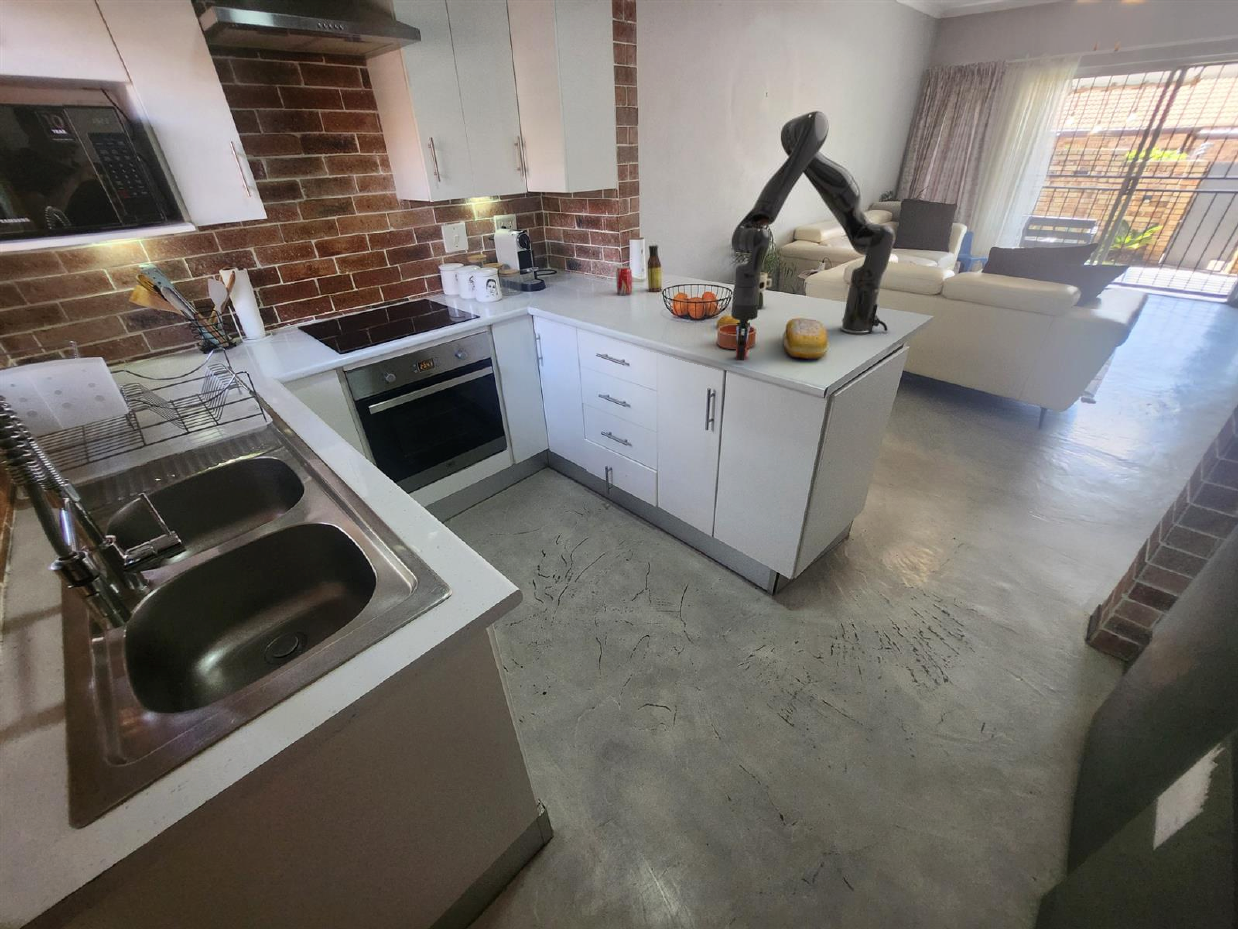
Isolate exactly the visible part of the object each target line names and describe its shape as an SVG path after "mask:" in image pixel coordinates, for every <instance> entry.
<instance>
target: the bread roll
mask: <svg viewBox="0 0 1238 929" xmlns="http://www.w3.org/2000/svg"><path fill="white" fill-rule="evenodd" d="M737 322H740V320H738V319H737V320H736V319H734V318H732V316H731V315H723V316H721V317H720V318H719V319H717V321H716V325H717V327H718V328H719V327H721V326H724V325H730V324H737Z"/></svg>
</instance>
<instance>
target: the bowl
mask: <svg viewBox="0 0 1238 929" xmlns="http://www.w3.org/2000/svg"><path fill="white" fill-rule="evenodd" d="M736 328H737V324H730V325H724V326H721V327H718V328H717V333H716V334H717V335H716V336H717V337H716V344H717V345H718V346H719V347H721V348H723V349H724V348H725V349H727V350H736V348H737V345H738V341H737V340H736V338H737V331H736ZM756 335H757V328H756V327H754V326H752V325H750V331H749V335H748V341H746V348H747V349H749V348H752V347H754V346H755V344H756Z"/></svg>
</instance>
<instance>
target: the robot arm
mask: <svg viewBox="0 0 1238 929" xmlns="http://www.w3.org/2000/svg"><path fill="white" fill-rule="evenodd" d="M829 129H830V128H829V121H828V118H827V116H826V114H824V113H823V112H822V111H819V110H814V111H810V112H807V113H805V114H801V115H799V116H796V117H793V118H792V119H790V120H788V121H787V122H786V123H784V125H783V126H782V128H781V130H780V143H781V147H782V149H783V151H784V153H785V154H786V156H788V157H787V159H786V160H785V161H784V162H783V164H782V165H781V166H780V167H779V168H778V169H777V171H776V172H775V173H773V175H772V176H771V177H770V178H769V180H768V181H767V182H766V184H765V186H764V187H763V188H762V190H761V192H760V194H759V195H758V197H757V199H756V201H755V203H754V206H753V207H752V208H751V209H750V211H748V213H747V214H746V215H745V216H744V217H743V219H742V220H741V221H740V222H739V223H738V225H737V226H736V228H735V229H734V230H733V232H732V235H731V239H730V240H731V242H730V243H731V248H732V249H733V251H734V252H736V253H739V254H745V255H749V257H748V260H747V261H743V262H740V263H738V264H737V265H736V267H735V272H734V284H733V285H734V286H733V290H732V300H731V313H730V314H731V315H730V316H731V317H732V318H734V319H736V320H737V319H738V320H740V322H737V328H736V331H737V338H736V340H737V341H738V345H737V348H738V351H737V359H736V361H744V360H745V359H744V357H745V348H746V341H748V335H749V331H750V326H751V322H749V321H752V320H755V319H757V317H758V314H759V308H758V304H759V284H760V274H761V273H762V269H763V266H764V262H765V260H766V257H767V254H768V251H769V250H770V246H771V233H770V232H769V230H768V228H766V226H770V225H772V224H774V222H775V221H776V220H777V218H778V216H779V214H780V212H781V211H782V208H783V206H784V205H785V203H786V200H787V199H788V197H789V195H790V193H791V192H792V191H793V189H794V187H795V185H796V184H797V183H798V181H799V179H800V178H801V176H802V175H803V174H804V176H805V177H806V178H807V179H808V181H809V182H810V184H811V185H812V187H813V188H814V189H815V190H816V192H817V194H818V195H819V197H820V198H821V200H822V201H823V203H824V204H825V206H826V207H827V208H828V210H829V211H830V212H831V213H832V215H833V216H834V218H835V219H836V221H837V222H838V224H839V225H840V227H841V228H842V229H843V231H844V233H845V236H846V237H847V239H848V241H849V243H850V245H851V247H852V248H853V250H854V251H855V252H856V253H857V254H859V255H862V256H865V257H864V261H863V264H861V265H860V266H856V267H854V268H853V270H852V272H851V277H850V282H849V286H848V292H847V298H846V304H845V309H844V314H843V317H842V320H841V322H842V324H841V328H840V329H841V331H843V332H845V333H848V334H857V335H861V334H862V335H863V334H871V333H873V329H874V327H879V325H881V326H882V327H883V330H884V332H888V326H887V324H886V323H885V321H883V320H880V317H879V316H878V315H876V314H877V311H878V306H879V304H878V297H879V293H880V288H881V283H882V280H883V276H884V273H885V272H886V271H887V268H888V265H889V262H890V257H891V254H892V252H893V246H894V241H895V232H894V229H893V228H892V227H891V226H889V225H885V224H878V223H873V222H871V221H870V220H869V218H868V217H867V216H866V215H865V214H864V212H863V210H862V208H861V204H862V203H861V201H862V194H861V188H860V187H859V185H858V183H857V182H856V180H855V178H854V176H852V174H851V173H850V171H848V169H847V168H845V167H844V166H843V165H840V164H839V163H837V162H835V160H832V159H830V158H828V157H827V156H825V155H824V154H823V153H822V152H820V150H821V148H822V147H823V145H824V144H825V142H826V141H827V138H828V134H829Z"/></svg>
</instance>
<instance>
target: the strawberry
mask: <svg viewBox="0 0 1238 929" xmlns="http://www.w3.org/2000/svg"><path fill="white" fill-rule="evenodd" d="M737 351H738V348H736V349H735V359H736V360H737ZM747 354H748V348H745V357H744V360H746V359H747Z"/></svg>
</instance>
